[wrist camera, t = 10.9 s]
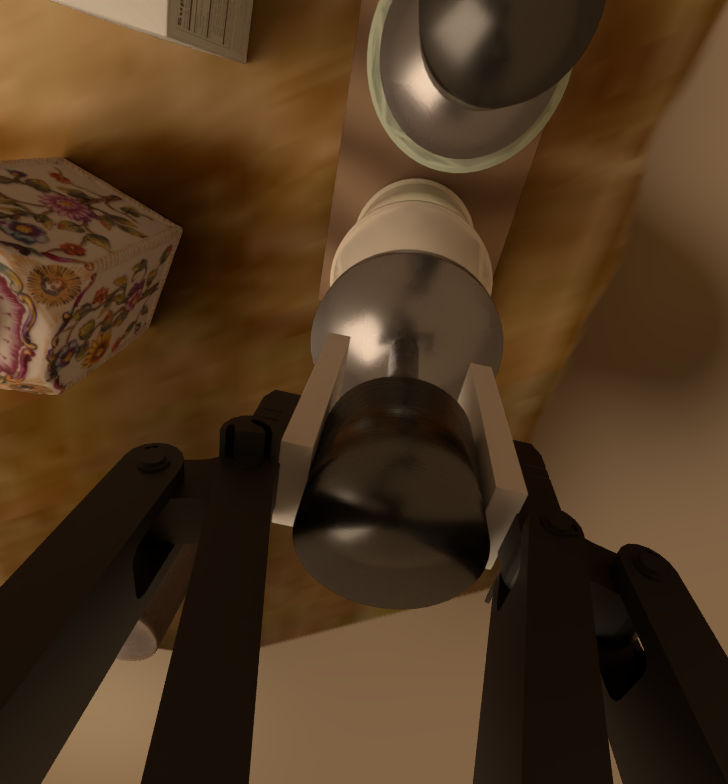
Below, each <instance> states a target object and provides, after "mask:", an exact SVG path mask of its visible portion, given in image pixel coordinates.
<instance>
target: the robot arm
mask: <svg viewBox="0 0 728 784" xmlns="http://www.w3.org/2000/svg"><path fill="white" fill-rule="evenodd" d="M350 338H351V337H349V336H345V335H340V334H335V333H331V332H330V333H329V335H328V338H327V340H326V342H325V344H324V346H323V349H322V351H321V353H320V355H319V358H318V360H317V362H316V364H315V366H314V369H313V371H312V373H311V375H310V378H309V380H308V382H307V384H306V387H305V389H304V391H303V393H302V395H297V394H293V393H288V392H283V391H279V390H274V391H273V392H271V393H269V394H268V395H266V396H265V397H264V398H263V399H262V401H261V403H260V404H259V406H258V409H256V411H255V413H254V415H253V416H239V417H235V418H232V419H230V420H228V421H227V422H225V423H224V424H223V426H222V427H221V429H220V450H219V457H216V458H212V459H204V460H184V457H183V453H182V452H181V451H180V450H179V449H178V448H177V447H174V446H172V445H169V444H163V443H151V444H144V445H141V446H139V447H136V448H133V449H132V450H131V451H129V452H128V453H127V454H125V455H124V456H123V458H122V459H121V460H120V461H119V462H118V463H117V464H116V465H115V466H114V467H113V468H112V469H111V470H110V471H109V472H108V473H107V474H106V476H105V477H104V478H103V479H102V480H101V481H100V482H99V483H98V484H97V485H96V486H95V487H94V488H93V489H92V490H91V491H90V493H89V494H88V495H87V496H86V497H85V498H84V499H83V500H82V501H81V502H80V503H79V504H78V505H77V506H76V507H75V508H74V510H73V511H72V512H71V513H70V514H69V515H68V516H67V517H66V518H65V519H64V520H63V521H62V522H61V523H60V524H59V525H58V527H57V528H56V529H55V530H54V531H53V532H52V533H51V534H50V535H49V536H48V537H47V538H46V539H45V540H44V541H43V542H42V544H41V545H40V546H39V547H38V548H37V549H36V550H35V551H34V552H33V553H32V554H31V555H30V556H29V557H28V558H27V559H26V561H25V562H24V563H23V564H22V565H21V566H20V567H19V568H18V569H17V570H16V571H15V572H14V573H13V574H12V575H11V576H10V578H9V579H8V580H7V581H6V582H5V583H4V584H3V585H2V586H1V587H0V784H41V783H42V781H43V779H44V778H45V776H46V774H47V772H48V771H49V769H50V768H51V766H52V764H53V763H54V761H55V759H56V758H57V756H58V754H59V753H60V751H61V749H62V747H63V746H64V744H65V742H66V741H67V739H68V737H69V736H70V734H71V732H72V731H73V729H74V727H75V726H76V724H77V722H78V721H79V719H80V717H81V716H82V714H83V712H84V711H85V709H86V707H87V706H88V704H89V702H90V700H91V699H92V697H93V696H94V694H95V692H96V691H97V689H98V687H99V685H100V684H101V682H102V681H103V679H104V677H105V675H106V674H107V672H108V670H109V669H110V667H111V665H112V664H113V662H114V660H115V659H116V657H117V655H118V654H119V652H120V650H121V649H122V647H123V645H124V644H125V642H126V640H127V639H128V637H129V635H130V634H131V632H132V630H133V629H134V627H135V625H136V624H137V622H138V620H139V619H140V617H141V615H142V614H143V612H144V610H145V608H146V607H147V605H148V603H149V602H150V600H151V598H152V597H153V595H154V593H155V592H156V590H157V588H158V587H159V585H160V583H161V582H162V580H163V578H164V577H165V575H166V573H167V572H168V570H169V568H170V567H171V565H172V563H173V562H174V560H175V558H176V557H177V555H178V553H179V552H180V550H181V548H182V547H183V545H184V544H188V543H199V544H198V548H197V552H196V556H195V560H194V564H193V569H192V573H191V577H190V581H189V585H188V589H187V593H186V598H185V602H184V606H183V610H182V614H181V618H180V623H179V627H178V631H177V635H176V639H175V643H174V647H173V652H172V656H171V660H170V664H169V668H168V672H167V677H166V681H165V685H164V689H163V693H162V698H161V702H160V706H159V710H158V714H157V718H156V722H155V726H154V731H153V735H152V739H151V743H150V747H149V751H148V755H147V760H146V764H145V768H144V772H143V776H142V781H141V784H249V774H250V761H251V749H252V737H253V725H254V713H255V701H256V689H257V676H258V664H259V651H260V640H261V628H262V616H263V604H264V591H265V579H266V567H267V555H268V543H269V531H270V519H271V516H272V513H273V517H272V522H273V523H277V524H282V525H287V526H291V527H293V524H294V520H295V516H296V513H297V510H298V507H299V504H300V501H301V498H302V495H303V492H304V489H305V486H306V483H307V480H308V477H309V474H310V471H311V468H312V465H313V462H314V459H315V456H316V453H317V449H318V446H319V443H320V440H321V437H322V434H323V431H324V428H325V425H326V422H327V419H328V416H329V413H330V411H331V409H332V408H333V406H334V405H335V403H336V402H337V401H338V400H339V397H340V392H341V386H342V381H343V376H344V370H345V365H346V359H347V354H348V348H349V343H350ZM457 402H458V403H459V404H460V406H461V407H462V408H463V409H464V411H465V413H466V415H467V417H468V419H469V421H470V424H471V428H472V433H473V439H474V445H475V452H476V458H477V464H478V470H479V476H480V482H481V488H482V494H483V500H484V506H485V513H486V519H487V525H488V531H489V537H490V555H489V560H488V562H487V565H486V567H485V569H490V570H491V568H492V566H493V564H494V562H495V560H496V558H497V556H498V559H499V565H500V571H499V573H498V575H497V577H496V579H495V581H494V583H493V585H492V587H491V589H490V591H489V593H488V595H487V597H486V599H485V602H486V603H489V602H490V600H491V598H492V597H493V598H492V607H491V617H490V626H489V636H488V645H487V654H486V664H485V674H484V683H483V692H482V703H481V712H480V721H479V731H478V740H477V750H476V759H475V768H474V778H473V784H613V777H612V768H611V760H610V751H609V742H610V745H611V748H612V751H613V754H614V757H615V760H616V764H617V767H618V770H619V773H620V776H621V779H622V783H623V784H728V657H727V655H726V654H725V652H724V650H723V649H722V647H721V646H720V644H719V642H718V640H717V639H716V637H715V635H714V633H713V632H712V630H711V629H710V627H709V625H708V623H707V622H706V620H705V618H704V617H703V615H702V613H701V611H700V610H699V609H698V606H697V605H696V603H695V601H694V600H693V598H692V597H691V595H690V593H689V591H688V590H687V588H686V586H685V585H684V583H683V581H682V579H681V578H680V576H679V574H678V573H677V571H676V570H675V569H674V568H673V566H672V565H671V564H670V563H669V562H668V561H667V560H666V559H665V558H663V557H662V556H661V555H660V554H658V553H656V552H654V551H653V550H651V549H649V548H647V547H644V546H641V545H638V544H626V545H624V546H623V547H621V548H620V550H619V551H618V553H617V554H616V553H614V552H612V551H610V550H608V549H605V548H603V547H601V546H599V545H596V544H594V543H592V542H591V541H589V540H587V539H585V537H584V533H583V531H582V528H581V527H580V526H579V524H578V523H577V522H576V521H575V519H573V518H572V517H571V516H569V515H568V514H567V513H565V512H563V511H561V508H560V506H559V503H558V500H557V497H556V495H555V492H554V489H553V486H552V484H551V481H550V480H549V475H548V472H547V470H545V468H546V467H545V464H544V461H543V459H542V456H541V455H540V454H539V452H538V451H537V450H536V449H535V448H534V447H533V446H532V444H529V443H525V442H520V441H515V440H512V437H511V433H510V430H509V426H508V423H507V419H506V416H505V412H504V409H503V405H502V402H501V398H500V395H499V391H498V388H497V385H496V381H495V378H494V374H493V371H492V367H488V366H484V365H479V364H474V363H470V366H469V369H468V372H467V375H466V378H465V381H464V384H463V387H462V390H461V393H460V395H459V398H458V401H457ZM638 637H639V639H640V641H641V643H642V646H643V648H644V651H643V649H642V647H641V646H640V643H639V641H638V639H637V638H638ZM608 739H609V742H608Z"/></svg>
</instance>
